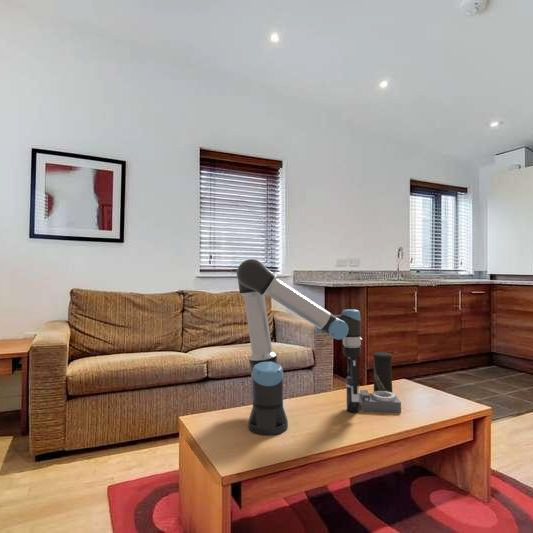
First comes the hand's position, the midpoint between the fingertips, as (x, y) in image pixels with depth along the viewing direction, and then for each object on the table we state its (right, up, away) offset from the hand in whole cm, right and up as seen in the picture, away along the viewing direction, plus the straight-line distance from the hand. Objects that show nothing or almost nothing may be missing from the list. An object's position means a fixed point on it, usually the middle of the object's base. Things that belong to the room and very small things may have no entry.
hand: (353, 396), depth 159 cm
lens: (0, -6, 0) cm, 6 cm away
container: (+19, -7, +21) cm, 29 cm away
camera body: (+12, -6, +4) cm, 15 cm away
